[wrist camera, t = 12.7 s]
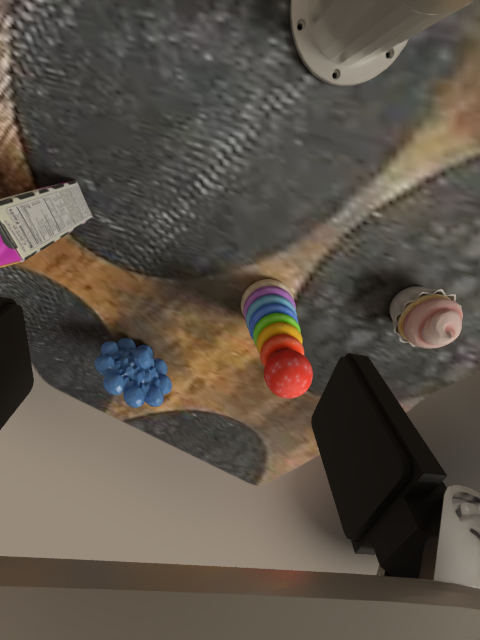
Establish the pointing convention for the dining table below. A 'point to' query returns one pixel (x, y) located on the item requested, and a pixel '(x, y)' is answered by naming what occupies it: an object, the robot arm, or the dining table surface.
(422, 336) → the cupcake
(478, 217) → the dining table surface
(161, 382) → the grapes
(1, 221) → the candy bar box
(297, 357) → the stacking toy
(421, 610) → the robot arm
